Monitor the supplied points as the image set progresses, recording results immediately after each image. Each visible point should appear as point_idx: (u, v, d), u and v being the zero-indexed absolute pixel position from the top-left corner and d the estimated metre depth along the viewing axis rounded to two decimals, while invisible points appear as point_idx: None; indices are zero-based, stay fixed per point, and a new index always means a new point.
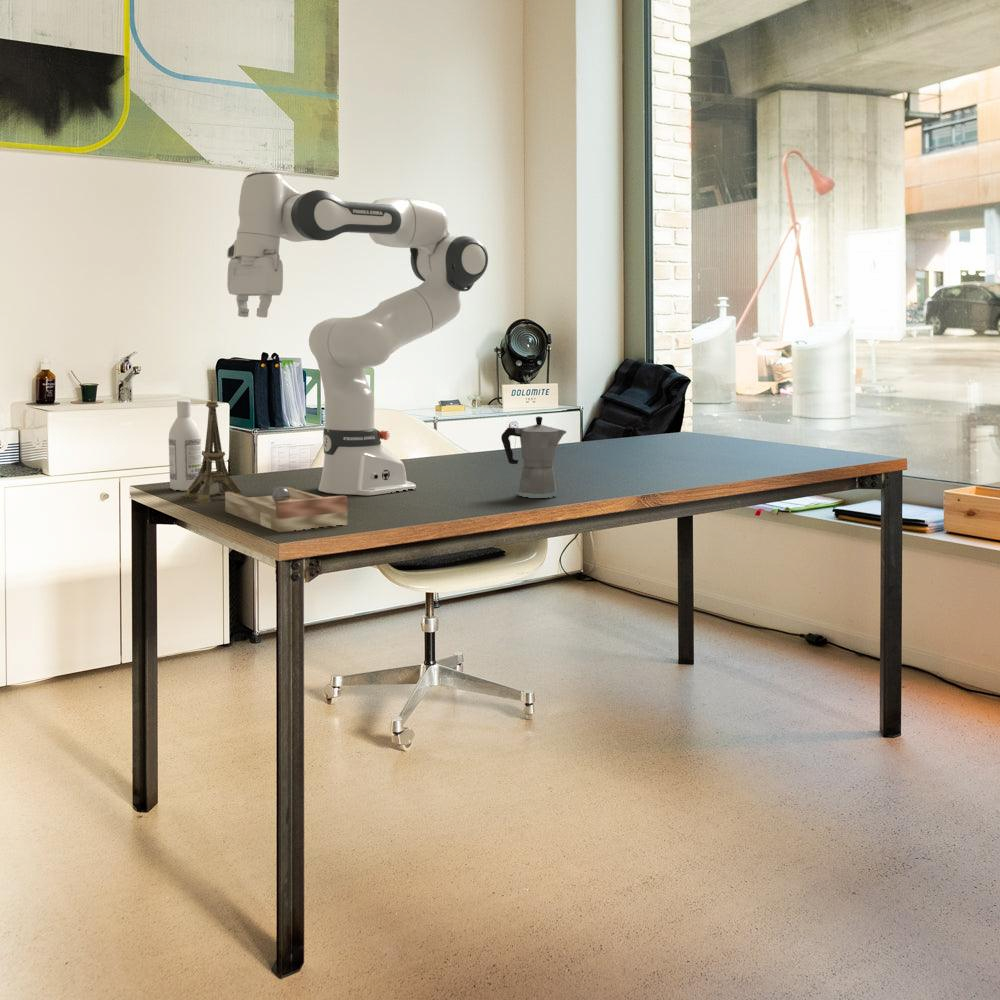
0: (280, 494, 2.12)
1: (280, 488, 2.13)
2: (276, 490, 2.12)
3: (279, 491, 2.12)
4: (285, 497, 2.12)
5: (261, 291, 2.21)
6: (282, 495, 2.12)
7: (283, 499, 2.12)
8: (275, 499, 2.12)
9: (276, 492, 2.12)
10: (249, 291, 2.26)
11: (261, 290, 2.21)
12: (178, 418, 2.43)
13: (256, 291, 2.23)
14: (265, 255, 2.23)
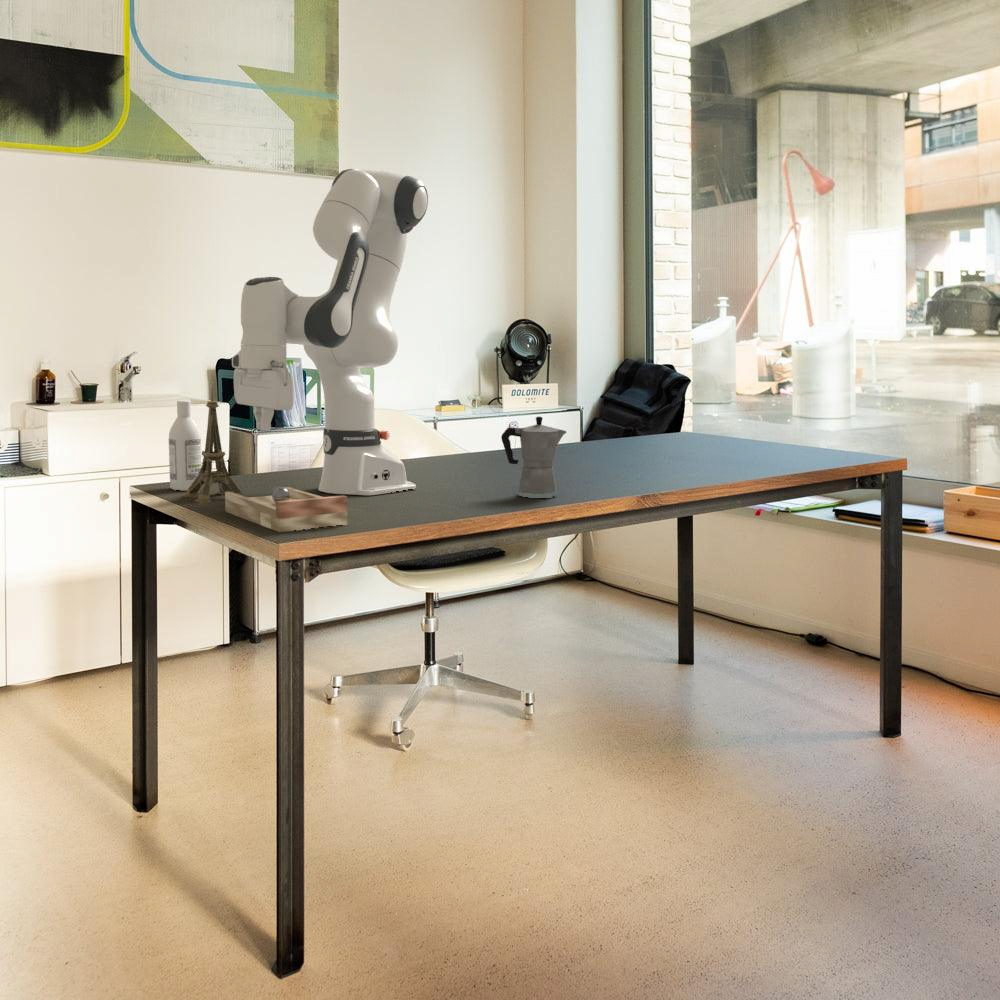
0: (280, 494, 2.12)
1: (280, 488, 2.13)
2: (276, 490, 2.12)
3: (279, 491, 2.12)
4: (285, 497, 2.12)
5: (271, 407, 2.09)
6: (282, 495, 2.12)
7: (283, 499, 2.12)
8: (275, 499, 2.12)
9: (276, 492, 2.12)
10: (258, 405, 2.14)
11: (271, 406, 2.09)
12: (178, 418, 2.43)
13: (266, 406, 2.11)
14: (272, 367, 2.11)
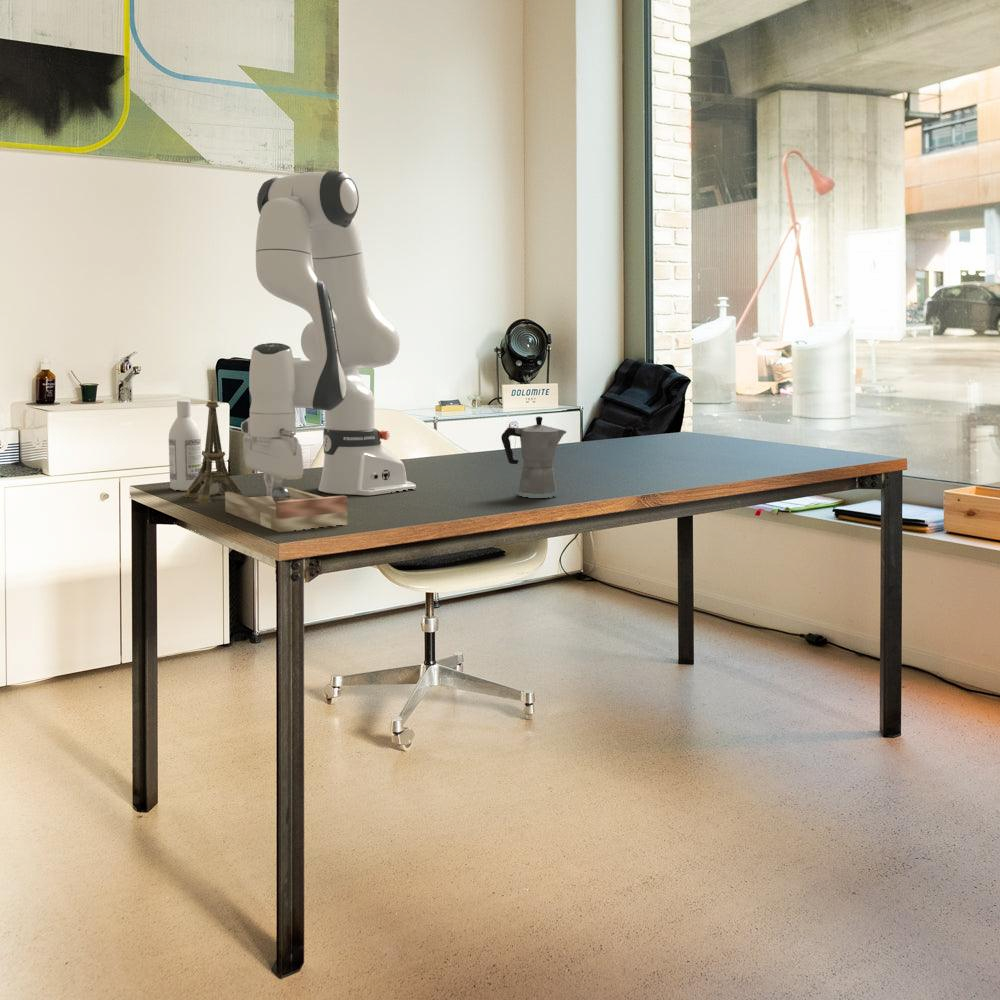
0: (280, 495, 2.12)
1: (280, 488, 2.13)
2: (276, 490, 2.12)
3: (280, 491, 2.12)
4: (285, 498, 2.12)
5: (281, 476, 2.08)
6: (282, 496, 2.12)
7: (283, 500, 2.12)
8: (275, 499, 2.12)
9: (277, 492, 2.12)
10: (268, 472, 2.13)
11: (281, 475, 2.08)
12: (178, 418, 2.43)
13: (276, 474, 2.10)
14: (282, 435, 2.10)
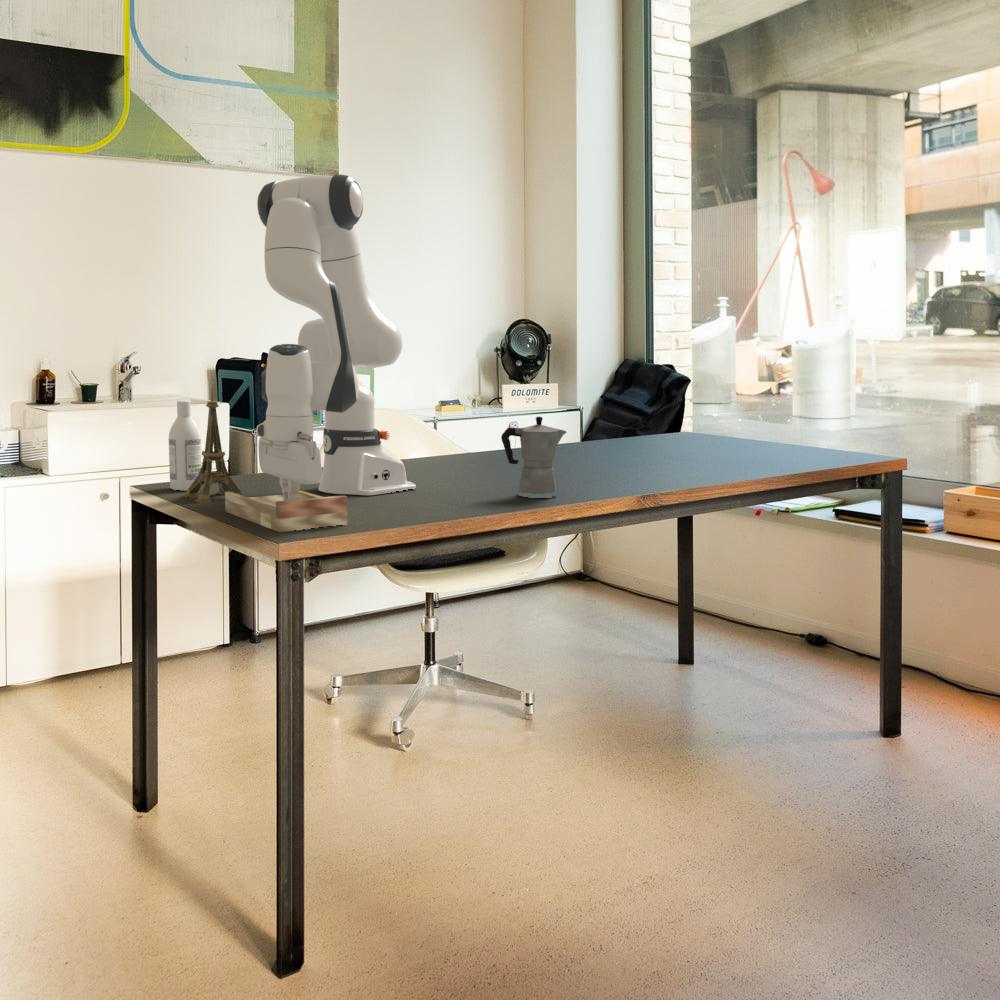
0: None
1: None
2: None
3: None
4: None
5: (299, 481, 2.02)
6: None
7: None
8: None
9: None
10: (285, 477, 2.07)
11: (299, 480, 2.02)
12: (178, 418, 2.43)
13: (293, 479, 2.04)
14: (299, 439, 2.04)
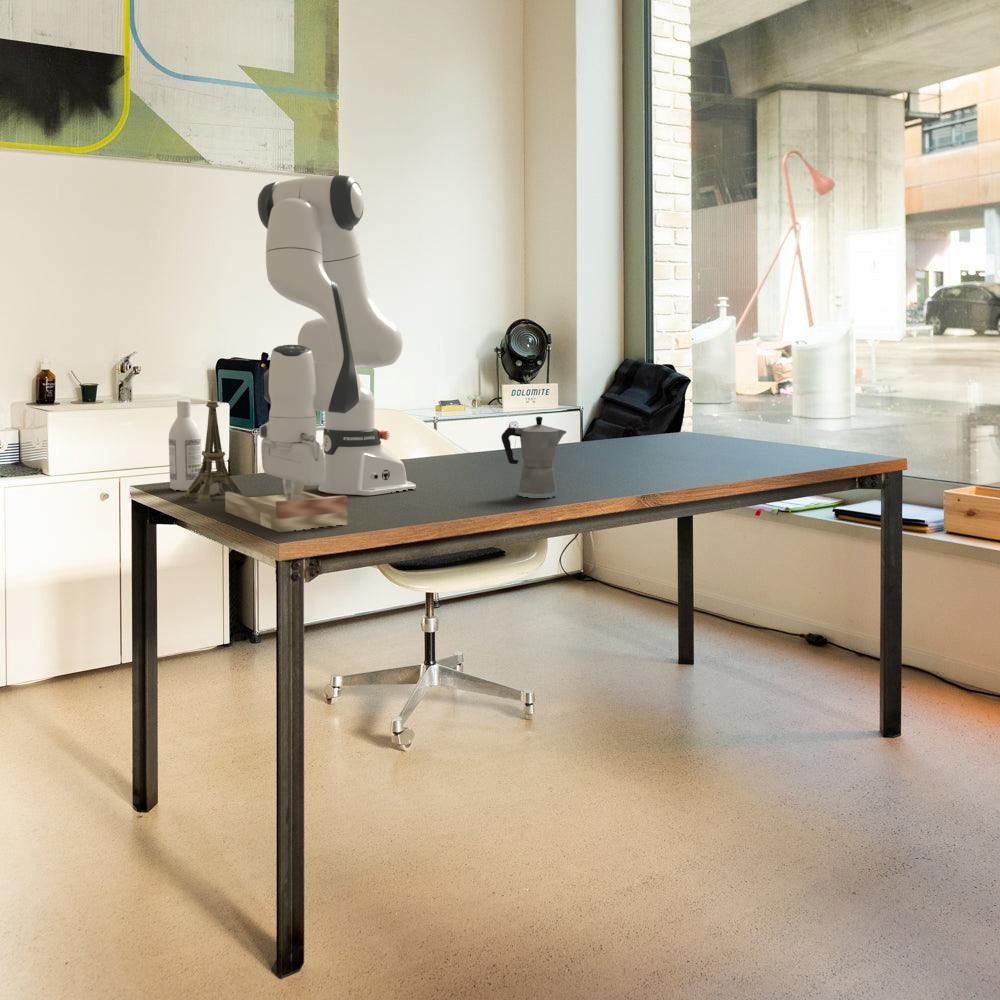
0: None
1: None
2: None
3: None
4: None
5: (302, 482, 2.02)
6: None
7: None
8: None
9: None
10: (288, 478, 2.06)
11: (302, 481, 2.02)
12: (178, 418, 2.43)
13: (296, 480, 2.04)
14: (303, 440, 2.03)
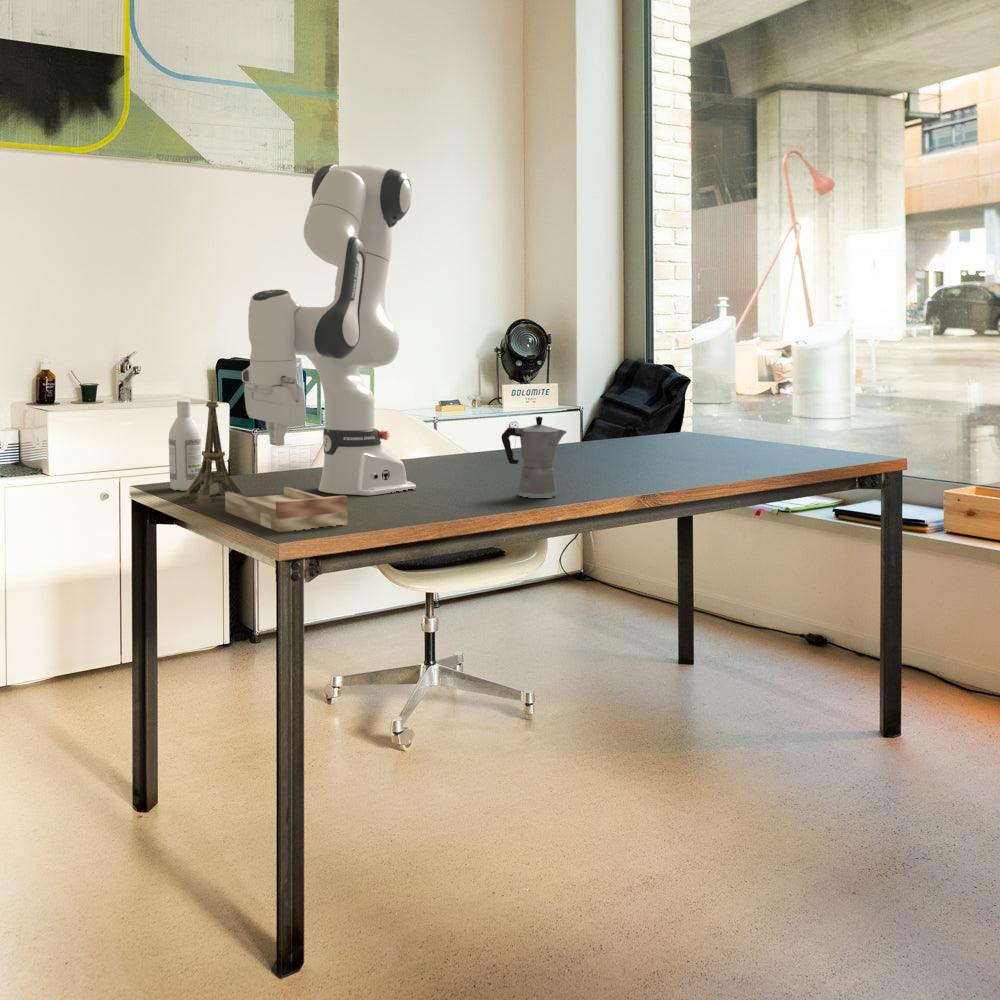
0: None
1: None
2: None
3: None
4: None
5: (284, 424, 2.07)
6: None
7: None
8: None
9: None
10: (271, 420, 2.11)
11: (284, 423, 2.07)
12: (178, 418, 2.43)
13: (278, 422, 2.09)
14: (283, 383, 2.08)
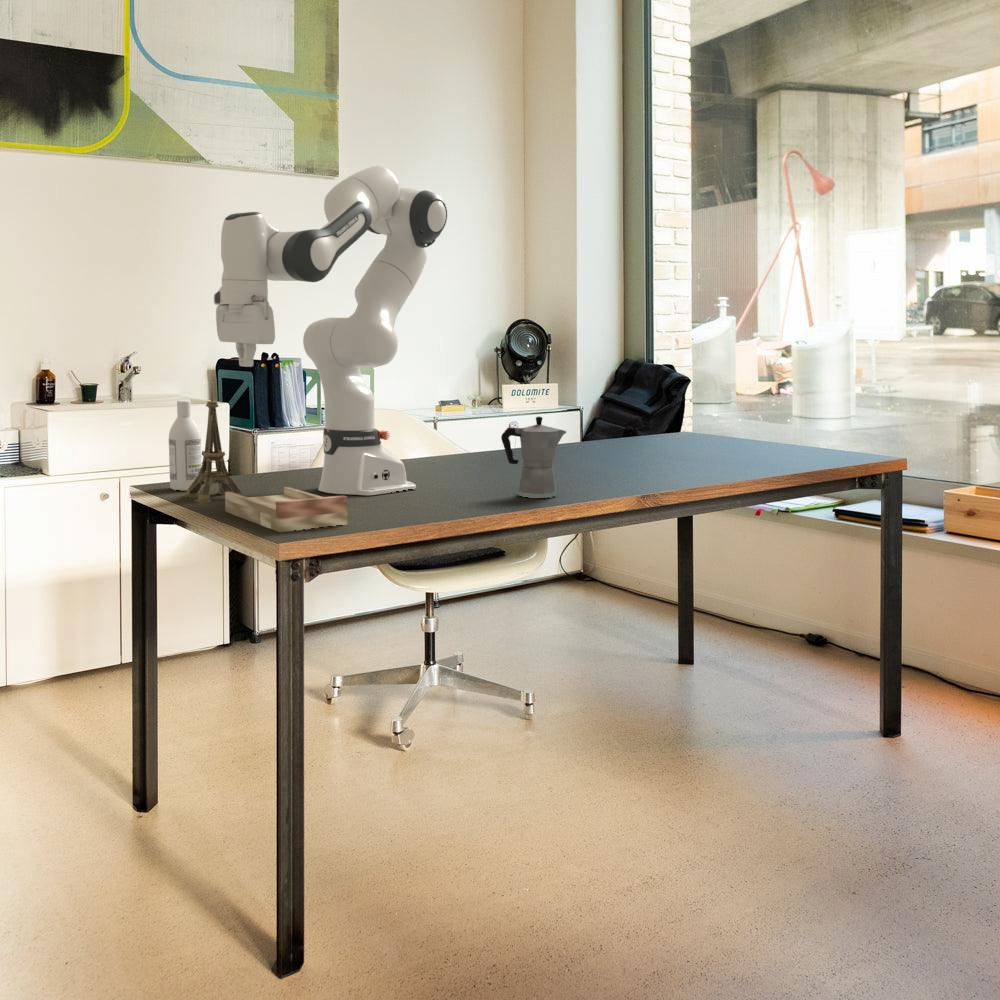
0: None
1: None
2: None
3: None
4: None
5: (253, 341, 2.09)
6: None
7: None
8: None
9: None
10: (240, 340, 2.14)
11: (253, 340, 2.09)
12: (178, 418, 2.43)
13: (248, 341, 2.11)
14: (253, 302, 2.11)
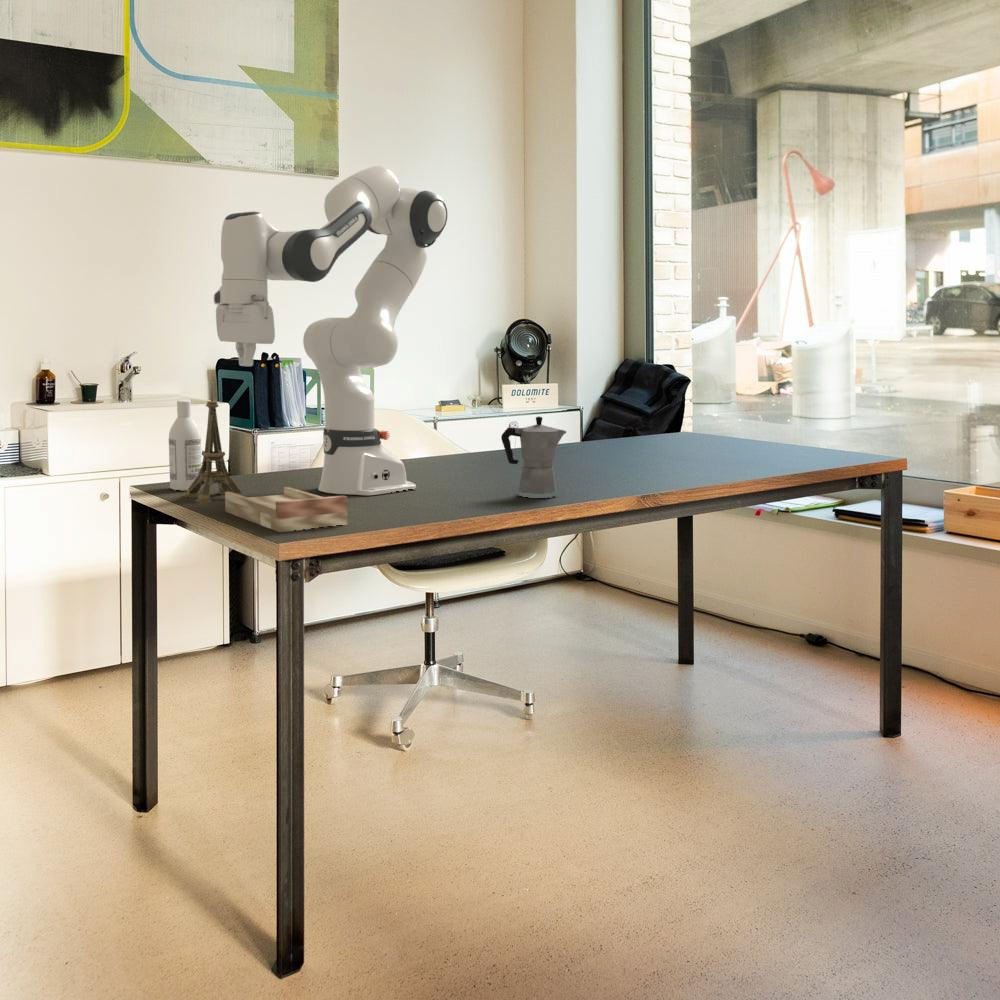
0: None
1: None
2: None
3: None
4: None
5: (253, 341, 2.09)
6: None
7: None
8: None
9: None
10: (240, 340, 2.14)
11: (253, 340, 2.09)
12: (178, 418, 2.43)
13: (247, 340, 2.11)
14: (253, 301, 2.11)
